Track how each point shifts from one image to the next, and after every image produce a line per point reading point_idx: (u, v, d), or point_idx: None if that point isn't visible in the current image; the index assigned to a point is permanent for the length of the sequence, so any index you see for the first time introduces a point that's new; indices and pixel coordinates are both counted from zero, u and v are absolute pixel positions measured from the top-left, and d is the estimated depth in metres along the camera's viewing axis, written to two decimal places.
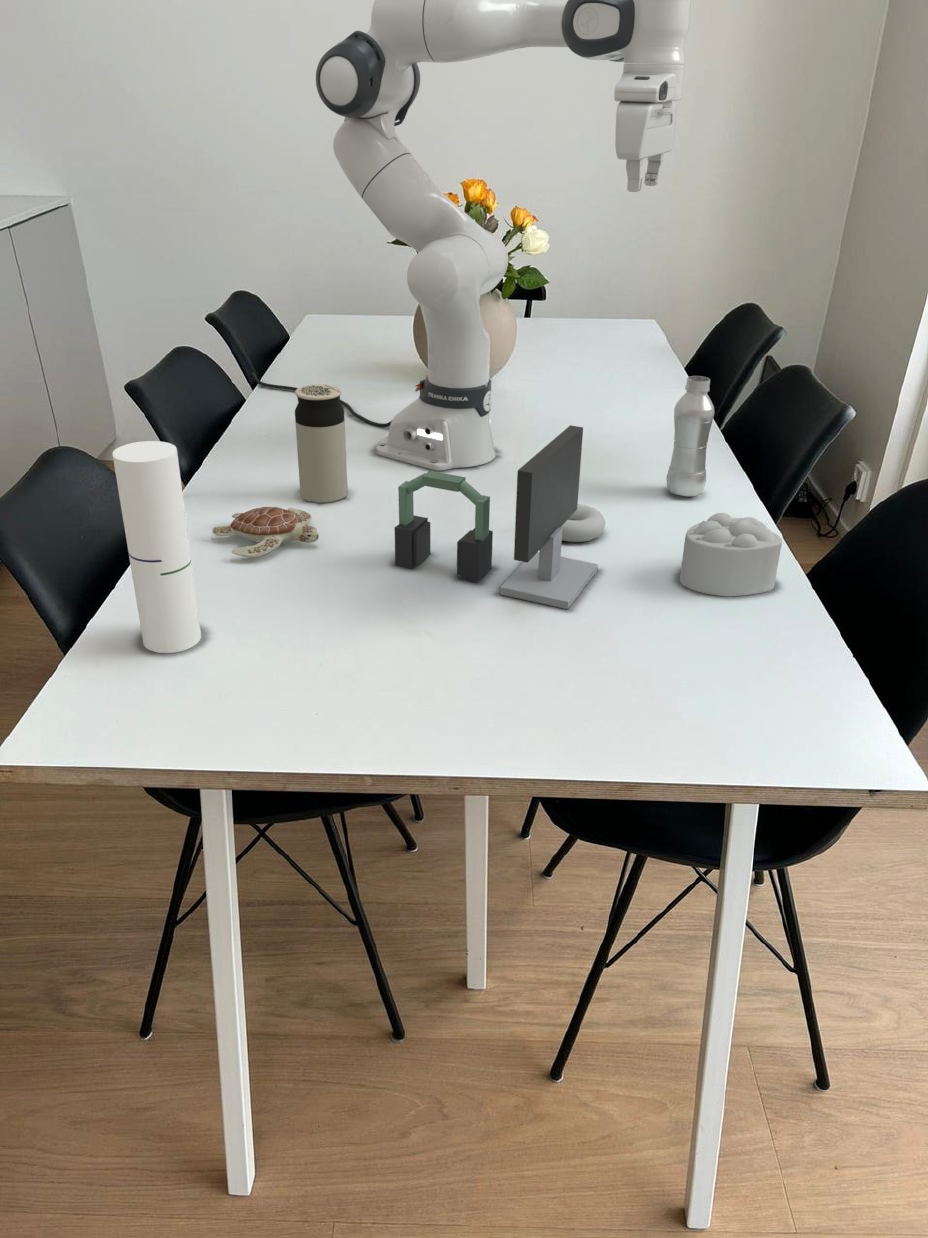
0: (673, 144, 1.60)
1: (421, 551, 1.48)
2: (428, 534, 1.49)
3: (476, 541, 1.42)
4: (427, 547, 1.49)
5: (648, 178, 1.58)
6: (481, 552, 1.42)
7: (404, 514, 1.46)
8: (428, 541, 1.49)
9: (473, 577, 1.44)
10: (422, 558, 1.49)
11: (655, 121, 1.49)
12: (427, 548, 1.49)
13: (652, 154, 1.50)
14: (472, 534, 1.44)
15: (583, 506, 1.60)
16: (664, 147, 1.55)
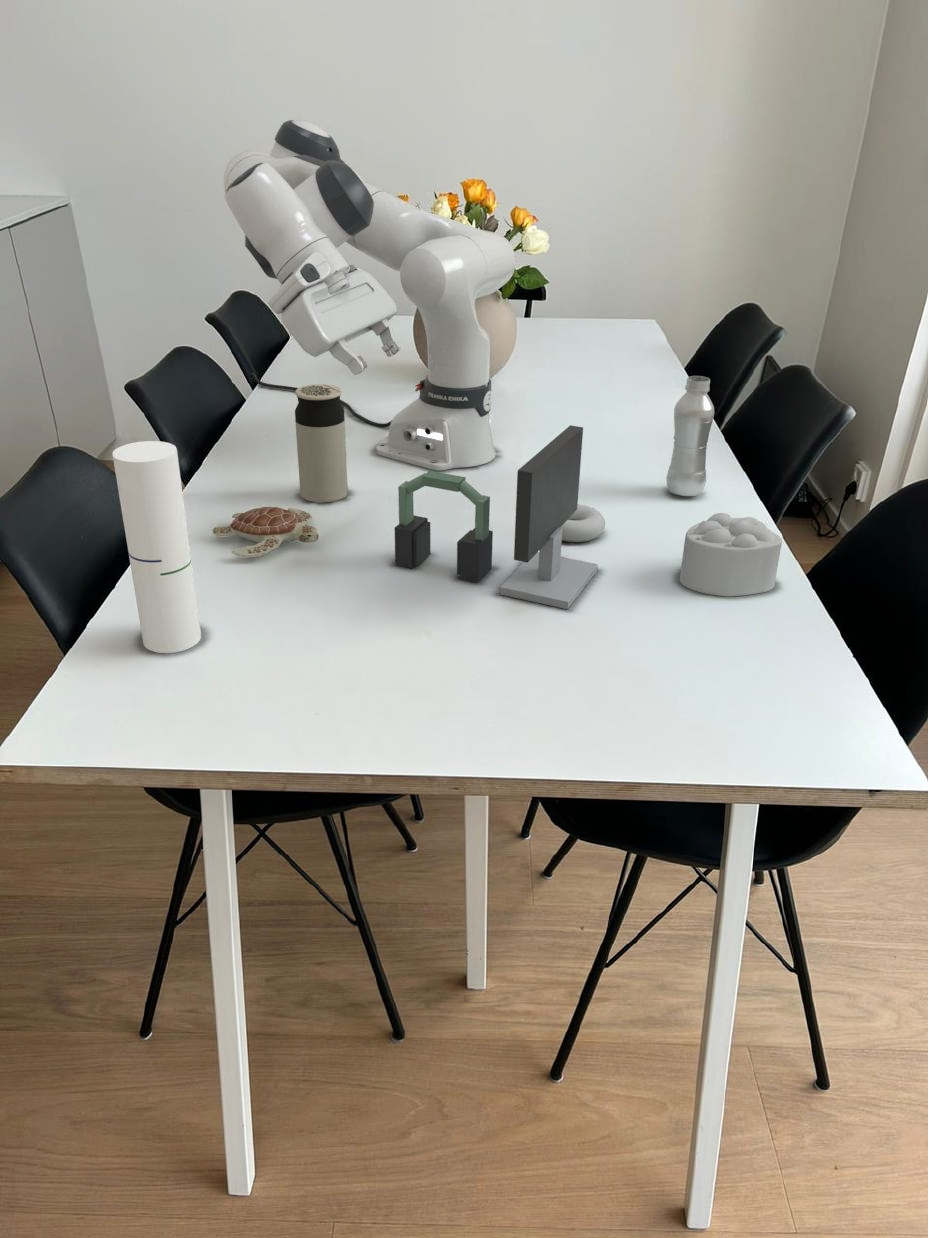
0: (395, 304, 1.44)
1: (421, 551, 1.48)
2: (428, 534, 1.49)
3: (476, 541, 1.42)
4: (427, 547, 1.49)
5: (387, 349, 1.41)
6: (481, 552, 1.42)
7: (404, 514, 1.46)
8: (428, 541, 1.49)
9: (473, 577, 1.44)
10: (422, 558, 1.49)
11: (336, 301, 1.34)
12: (427, 548, 1.49)
13: (354, 328, 1.34)
14: (472, 534, 1.44)
15: (583, 506, 1.60)
16: (376, 314, 1.39)
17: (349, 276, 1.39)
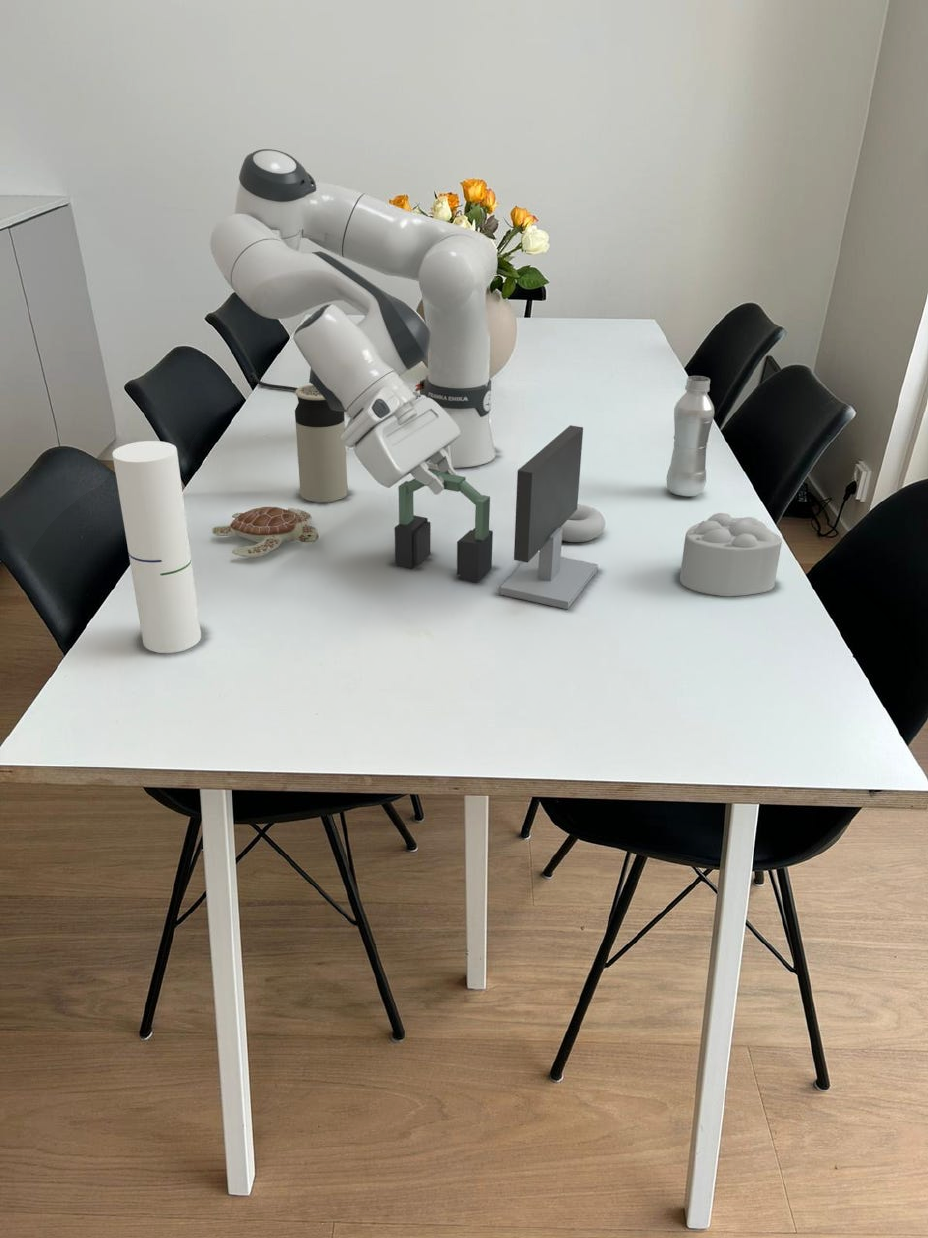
0: (458, 427, 1.48)
1: (421, 551, 1.48)
2: (428, 534, 1.49)
3: (476, 541, 1.42)
4: (427, 547, 1.49)
5: None
6: (481, 552, 1.43)
7: (404, 514, 1.46)
8: (428, 541, 1.49)
9: (473, 577, 1.44)
10: (422, 558, 1.49)
11: (405, 432, 1.38)
12: (427, 548, 1.49)
13: (424, 457, 1.38)
14: (472, 534, 1.44)
15: (583, 506, 1.60)
16: (442, 439, 1.43)
17: (415, 405, 1.43)
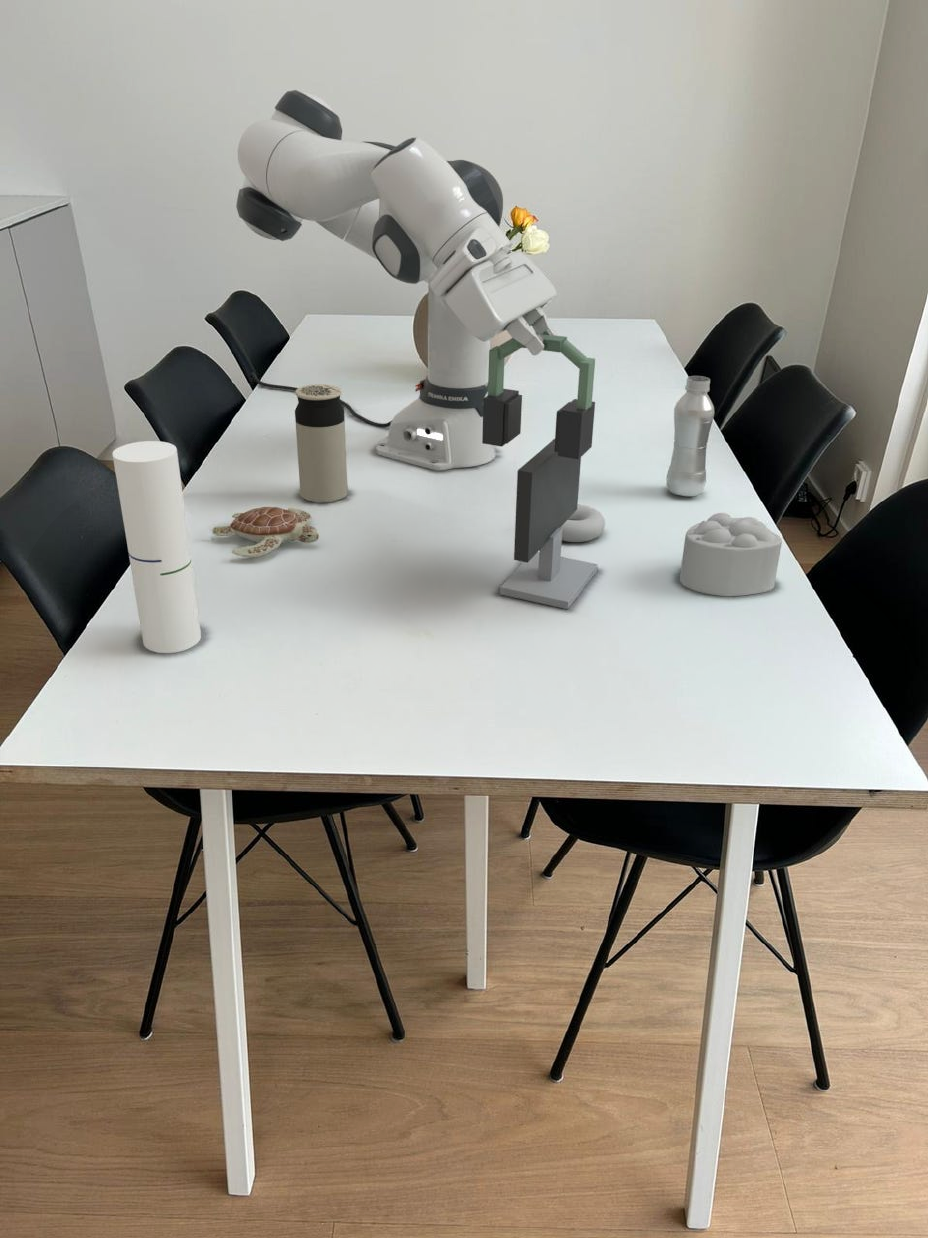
0: (554, 288, 1.31)
1: (512, 427, 1.31)
2: (519, 409, 1.32)
3: (579, 410, 1.25)
4: (517, 424, 1.32)
5: None
6: (583, 424, 1.25)
7: (494, 383, 1.29)
8: (519, 417, 1.32)
9: (574, 453, 1.27)
10: (512, 436, 1.32)
11: (500, 282, 1.21)
12: (517, 425, 1.32)
13: (523, 310, 1.21)
14: (572, 404, 1.27)
15: (583, 506, 1.60)
16: (539, 296, 1.26)
17: (508, 256, 1.26)
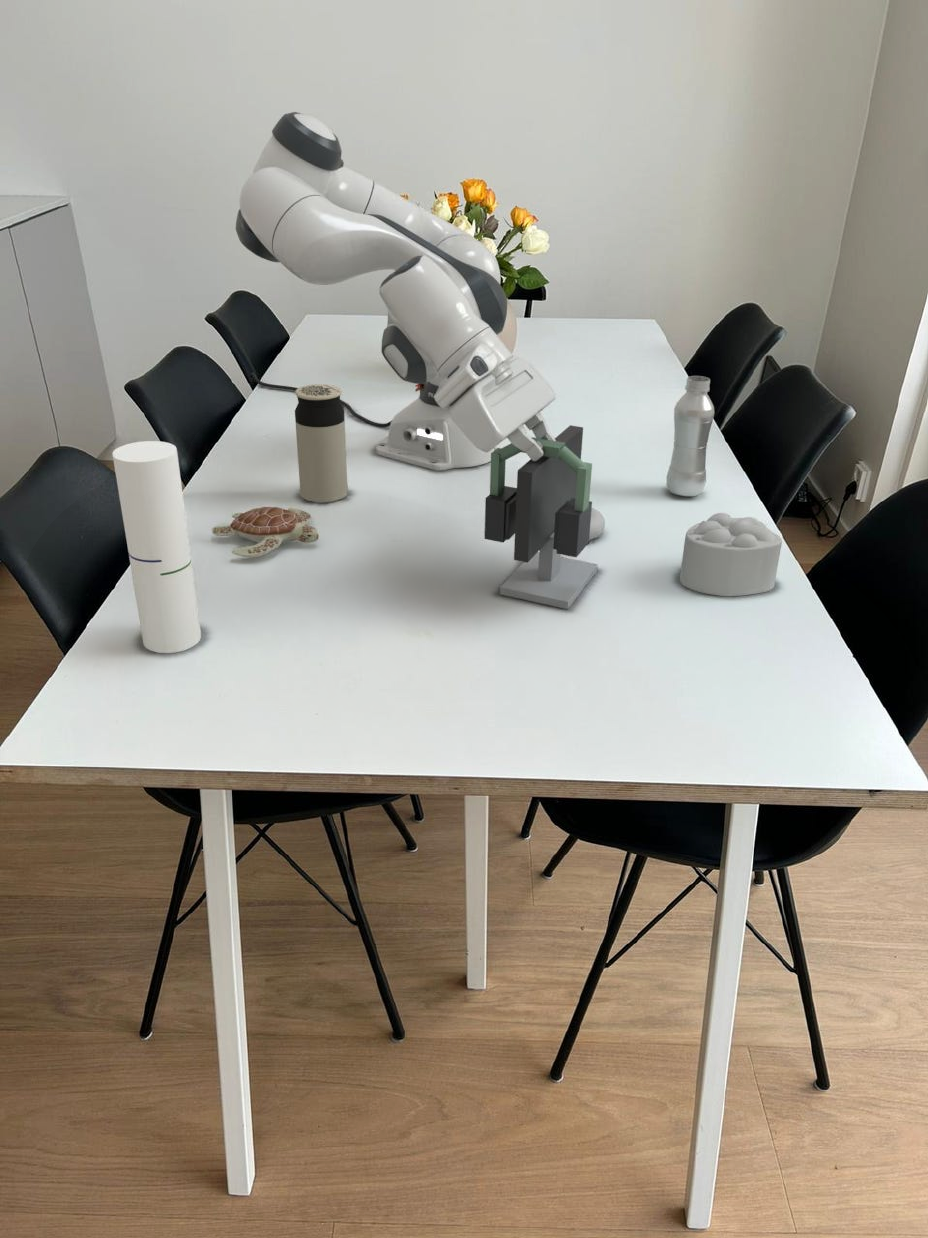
0: (553, 391, 1.37)
1: (513, 524, 1.37)
2: None
3: (576, 512, 1.31)
4: None
5: None
6: (581, 525, 1.32)
7: (496, 483, 1.35)
8: None
9: (572, 551, 1.33)
10: (513, 532, 1.38)
11: (502, 393, 1.27)
12: None
13: (523, 420, 1.27)
14: (570, 505, 1.33)
15: None
16: (539, 402, 1.32)
17: (509, 365, 1.32)
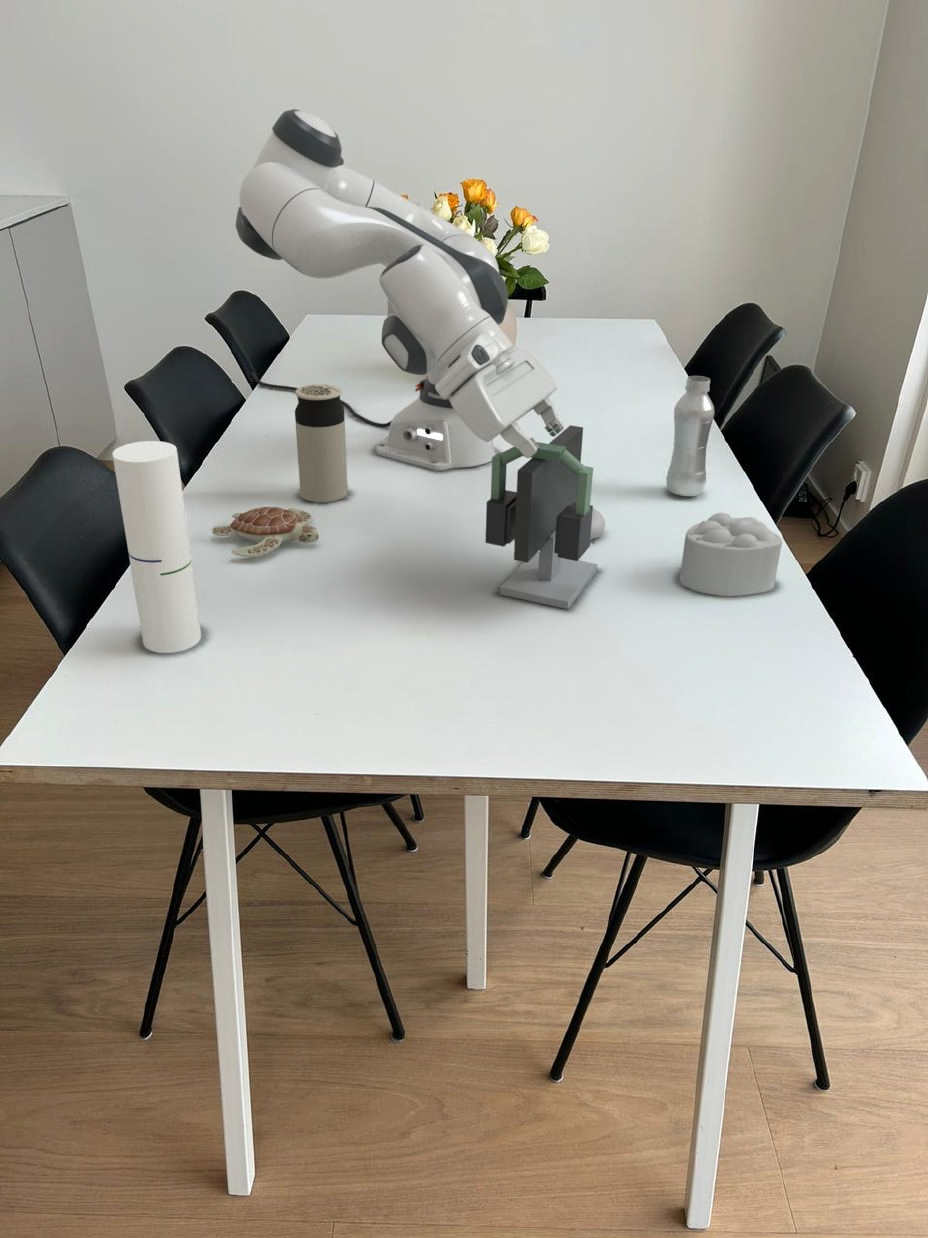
0: (554, 381, 1.36)
1: (514, 528, 1.37)
2: None
3: (578, 516, 1.31)
4: None
5: (551, 429, 1.34)
6: (582, 528, 1.32)
7: (497, 487, 1.35)
8: None
9: (573, 555, 1.33)
10: (514, 536, 1.38)
11: (503, 382, 1.27)
12: None
13: (524, 410, 1.27)
14: (571, 509, 1.33)
15: None
16: (540, 393, 1.32)
17: (510, 355, 1.31)
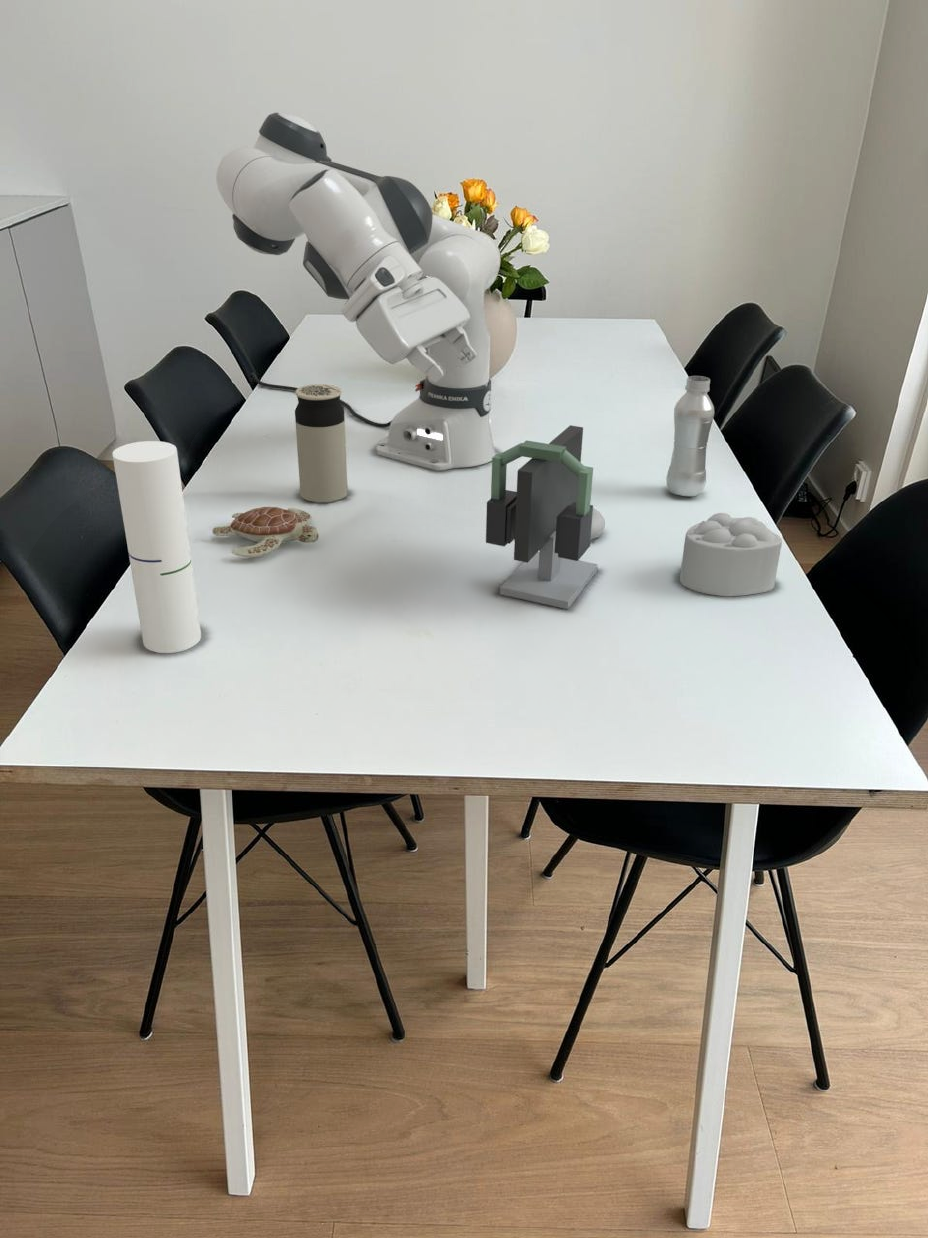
0: (468, 311, 1.37)
1: (514, 528, 1.37)
2: None
3: (578, 516, 1.31)
4: None
5: (463, 356, 1.34)
6: (582, 528, 1.32)
7: (497, 488, 1.35)
8: None
9: (573, 555, 1.33)
10: (514, 535, 1.38)
11: (410, 307, 1.28)
12: None
13: (431, 334, 1.28)
14: (572, 509, 1.33)
15: None
16: (451, 320, 1.33)
17: (421, 282, 1.32)
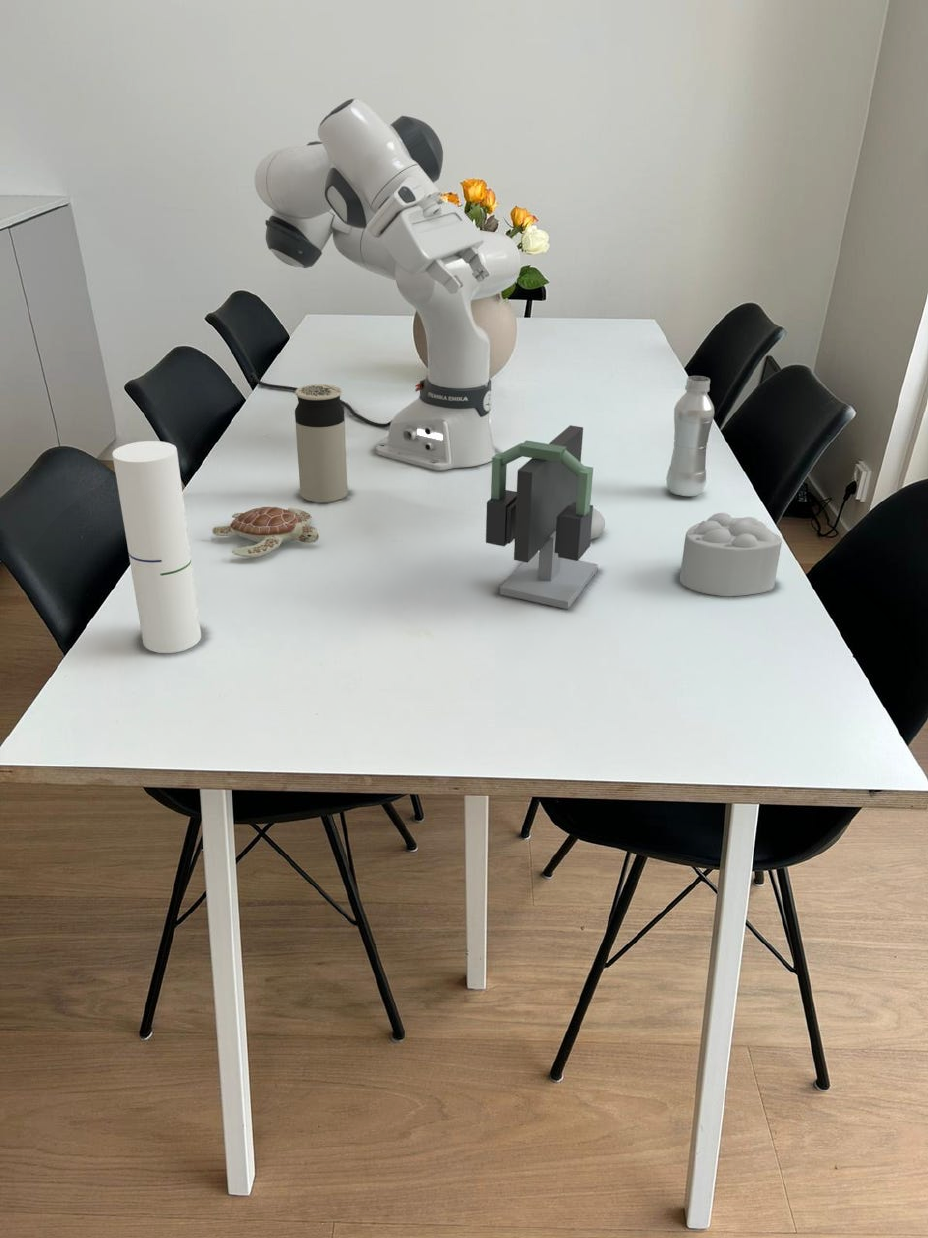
0: (482, 234, 1.48)
1: (514, 528, 1.37)
2: None
3: (578, 516, 1.31)
4: None
5: (477, 275, 1.45)
6: (582, 528, 1.32)
7: (497, 488, 1.35)
8: None
9: (573, 555, 1.33)
10: (514, 535, 1.38)
11: (430, 225, 1.39)
12: None
13: (449, 250, 1.38)
14: (572, 509, 1.33)
15: None
16: (466, 239, 1.43)
17: (439, 205, 1.43)
